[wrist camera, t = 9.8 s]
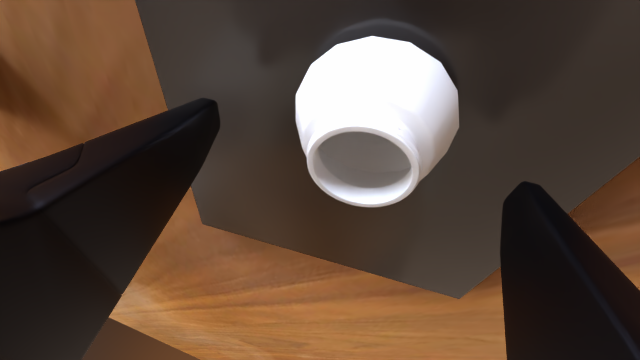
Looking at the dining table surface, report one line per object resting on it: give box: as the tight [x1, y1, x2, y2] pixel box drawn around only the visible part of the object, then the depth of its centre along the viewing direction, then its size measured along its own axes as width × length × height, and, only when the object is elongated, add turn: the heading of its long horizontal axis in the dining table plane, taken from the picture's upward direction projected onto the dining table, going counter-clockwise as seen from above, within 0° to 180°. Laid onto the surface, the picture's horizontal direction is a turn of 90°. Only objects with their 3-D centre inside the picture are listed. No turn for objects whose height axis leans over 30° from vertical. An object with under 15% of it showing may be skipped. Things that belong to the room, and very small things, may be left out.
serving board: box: [135, 0, 640, 299], centre depth 11 cm, size 16×22×1 cm
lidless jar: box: [296, 36, 459, 207], centre depth 9 cm, size 5×3×5 cm
